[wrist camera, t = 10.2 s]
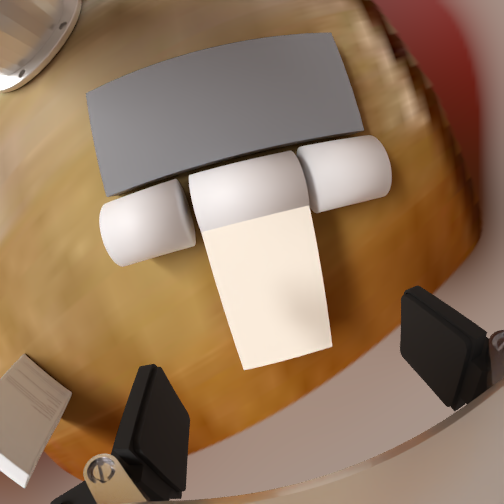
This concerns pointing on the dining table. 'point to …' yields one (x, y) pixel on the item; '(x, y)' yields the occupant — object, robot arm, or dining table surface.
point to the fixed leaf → (226, 133)
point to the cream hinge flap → (264, 256)
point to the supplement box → (27, 417)
